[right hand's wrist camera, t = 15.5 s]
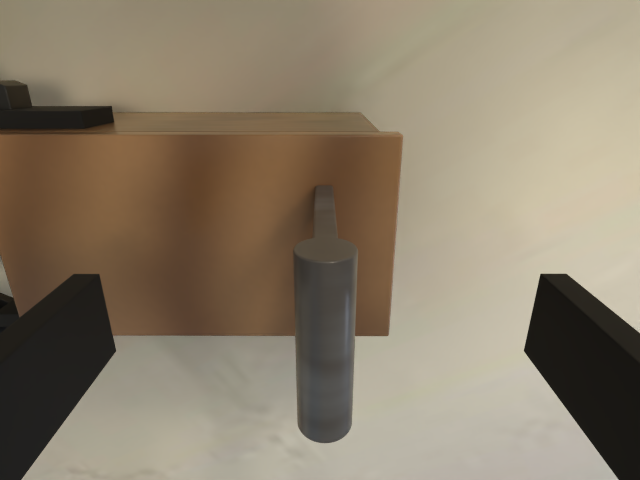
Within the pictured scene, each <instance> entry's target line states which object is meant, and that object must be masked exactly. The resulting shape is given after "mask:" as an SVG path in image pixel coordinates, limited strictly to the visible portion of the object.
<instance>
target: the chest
mask: <svg viewBox="0 0 640 480" xmlns="http://www.w3.org/2000/svg"><path fill="white" fill-rule="evenodd" d="M113 117H114V122H113V123H108V124H104V125H99V126H95V127H91V128H86V129H0V132H380V131H379V130H378V129H377V128H376V127H375V126H374V125H373V124H372V123H371V122H370V121H369V120H368V119H367V118H366V117H365V116H364V115H363V114H362V113H274V112H113Z"/></svg>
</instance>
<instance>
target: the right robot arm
mask: <svg viewBox="0 0 640 480" xmlns="http://www.w3.org/2000/svg"><path fill="white" fill-rule="evenodd" d="M115 352H116V348H115V344H114V339H113V334H112V330H111V325H110V321H109V316H108V311H107V307H106V302H105V297H104V293H103V288H102V284H101V279H100V274H73V275H72V276H70V277H69V278H68V279H67V280H65V281H64V282H63V283H62V284H61V285H59V286H58V287H57V288H56V289H54V290H53V291H52V292H51V293H49V294H48V295H47V296H46V297H44V298H43V299H42V300H41V301H40V302H38V303H37V304H36V305H35V306H33V307H32V308H31V309H30V310H28V311H27V312H26V313H25V314H23V315H22V316H21V317H20V318H19V319H17V320H16V321H15V322H14V323H12V324H11V325H10V326H9V327H7V328H6V329H5V330H4V331H2V332H1V333H0V480H21V479H22V478H23V476H24V475H25V474H26V472H27V471H28V470H29V468H30V467H31V466H32V464H33V463H34V462H35V460H36V459H37V457H38V456H39V455H40V453H41V452H42V451H43V449H44V448H45V447H46V445H47V444H48V443H49V441H50V440H51V438H52V437H53V436H54V434H55V433H56V432H57V430H58V429H59V428H60V426H61V425H62V424H63V422H64V421H65V420H66V418H67V417H68V415H69V414H70V413H71V411H72V410H73V409H74V407H75V406H76V405H77V403H78V402H79V401H80V399H81V398H82V396H83V395H84V394H85V392H86V391H87V390H88V388H89V387H90V386H91V384H92V383H93V382H94V380H95V379H96V377H97V376H98V375H99V373H100V372H101V371H102V369H103V368H104V367H105V365H106V364H107V363H108V361H109V360H110V359H111V357H112V356H113V354H114V353H115ZM524 352H525V353H526V354H527V356H528V357H529V359H530V360H531V361H532V363H533V364H534V365H535V367H536V368H537V369H538V371H539V372H540V373H541V375H542V376H543V377H544V379H545V380H546V382H547V383H548V384H549V386H550V387H551V388H552V390H553V391H554V392H555V394H556V395H557V396H558V398H559V399H560V401H561V402H562V403H563V405H564V406H565V407H566V409H567V410H568V411H569V413H570V414H571V415H572V417H573V418H574V420H575V421H576V422H577V424H578V425H579V426H580V428H581V429H582V430H583V432H584V433H585V434H586V436H587V437H588V439H589V440H590V441H591V443H592V444H593V445H594V447H595V448H596V449H597V451H598V452H599V453H600V455H601V456H602V457H603V459H604V460H605V462H606V463H607V464H608V466H609V467H610V468H611V470H612V471H613V472H614V474H615V475H616V476H617V478H618V479H619V480H640V333H639V332H638V331H636V330H635V329H634V328H633V327H631V326H630V325H629V324H628V323H626V322H625V321H624V320H623V319H621V318H620V317H619V316H618V315H617V314H615V313H614V312H613V311H612V310H610V309H609V308H608V307H607V306H605V305H604V304H603V303H602V302H600V301H599V300H598V299H597V298H596V297H594V296H593V295H592V294H591V293H589V292H588V291H587V290H586V289H584V288H583V287H582V286H581V285H579V284H578V283H577V282H576V281H575V280H573V279H572V278H571V277H570V276H568V275H567V274H540V279H539V284H538V288H537V293H536V297H535V302H534V307H533V311H532V316H531V321H530V325H529V330H528V334H527V339H526V344H525V348H524Z"/></svg>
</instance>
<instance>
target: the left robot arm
mask: <svg viewBox="0 0 640 480" xmlns="http://www.w3.org/2000/svg"><path fill="white" fill-rule="evenodd" d="M113 122H114V117H113V112H112V106H32V104H31V100H30V96H29V92H28V87H27V85H25V84H22V83H20V82H17V81H0V129H86V128H91V127H95V126H99V125H104V124H108V123H113ZM19 318H20V317H19V314H18V311H17V307H16V304H15V301H14V298H12V297H10V296H7V295H5V294H2V293H0V333H1V332H2V331H4V330H5V329H6V328H7V327H9V326H10V325H11V324H12V323H14V322H15V321H16V320H17V319H19Z"/></svg>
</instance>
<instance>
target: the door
mask: <svg viewBox="0 0 640 480" xmlns="http://www.w3.org/2000/svg"><path fill="white" fill-rule="evenodd" d="M402 143H403V135H402V134H400V133H399V132H0V255H1V259H2V262H3V265H4V268H5V272H6V275H7V278H8V281H9V285H10V288H11V291H12V294H13V298H14V301H15V304H16V307H17V311H18V314H19V317H21V316H22V315H23V314H25V313H26V312H27V311H28V310H30V309H31V308H32V307H33V306H35V305H36V304H37V303H38V302H40V301H41V300H42V299H43V298H44V297H46V296H47V295H48V294H49V293H51V292H52V291H53V290H54V289H56V288H57V287H58V286H59V285H61V284H62V283H63V282H64V281H65V280H67V279H68V278H69V277H70V276H72V275H73V274H100V279H101V284H102V288H103V293H104V297H105V302H106V307H107V311H108V316H109V321H110V325H111V330H112V334H113V335H181V336H295V340H296V379H297V417H298V427H299V429H300V431H301V432H302V434H303V435H304V436H305V437H307V438H308V439H310V440H312V441H315V442H319V443H331V442H335V441H338V440H340V439H342V438H343V437H344V436H345V435H346V434H347V433H348V432H349V430H350V428H351V425H352V403H353V375H354V348H355V336H388V335H389V325H390V311H391V297H392V283H393V269H394V255H395V241H396V227H397V213H398V199H399V185H400V171H401V157H402Z"/></svg>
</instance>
